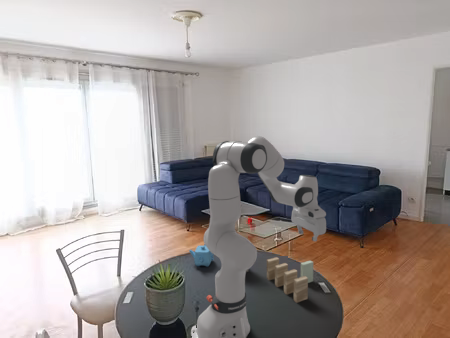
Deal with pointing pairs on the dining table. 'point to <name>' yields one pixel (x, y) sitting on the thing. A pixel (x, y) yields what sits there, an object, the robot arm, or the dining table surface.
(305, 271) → the end domino
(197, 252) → the teapot
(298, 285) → the domino
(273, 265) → the domino
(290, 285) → the domino
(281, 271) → the domino
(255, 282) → the dining table surface
